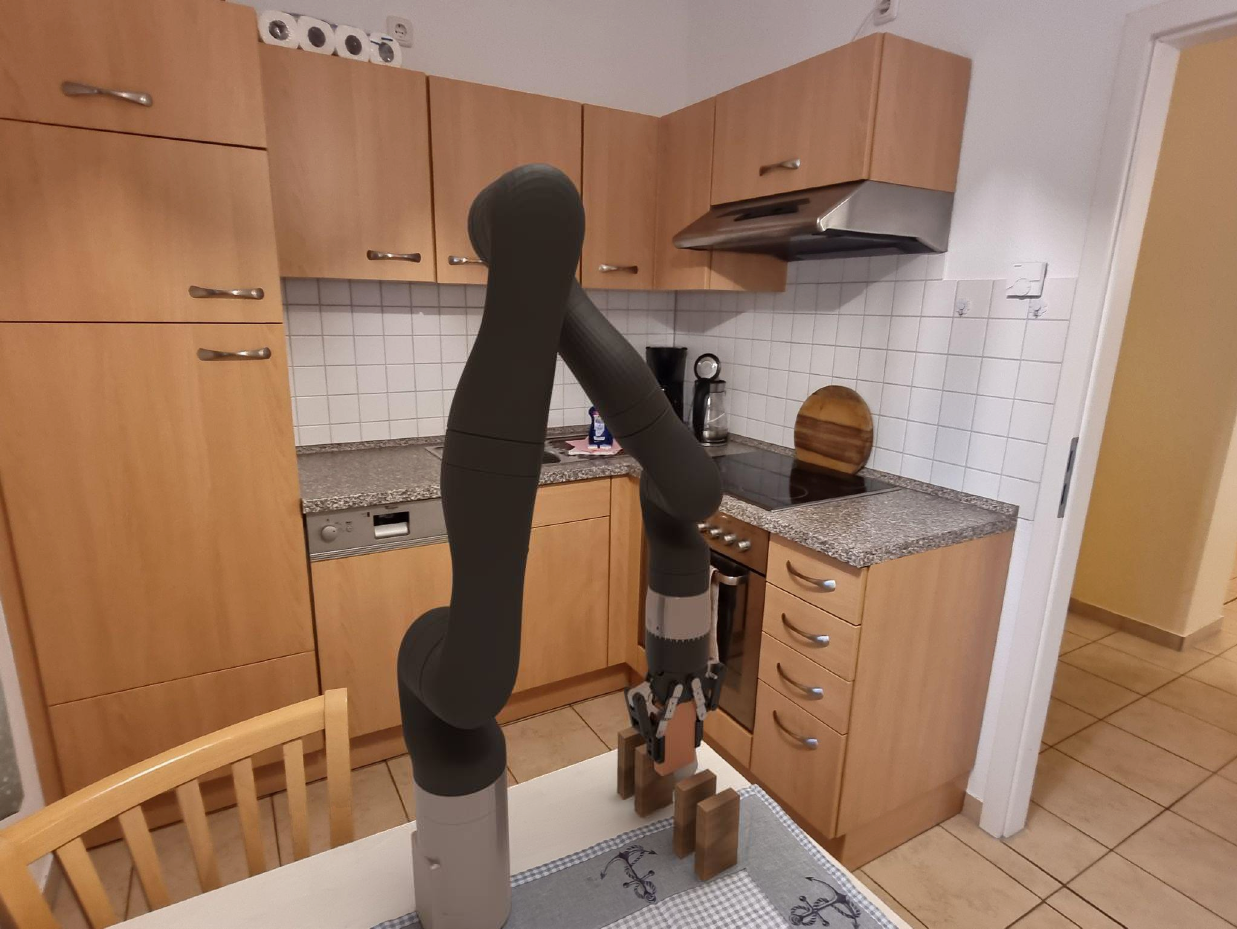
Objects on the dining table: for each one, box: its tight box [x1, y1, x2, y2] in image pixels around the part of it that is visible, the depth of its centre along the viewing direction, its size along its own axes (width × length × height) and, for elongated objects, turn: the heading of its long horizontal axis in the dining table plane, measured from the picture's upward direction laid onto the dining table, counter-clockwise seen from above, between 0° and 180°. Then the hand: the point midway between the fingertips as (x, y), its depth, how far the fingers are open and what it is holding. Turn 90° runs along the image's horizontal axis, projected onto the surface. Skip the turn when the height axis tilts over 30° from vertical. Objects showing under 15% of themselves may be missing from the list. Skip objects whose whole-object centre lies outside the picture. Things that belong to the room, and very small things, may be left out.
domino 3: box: [654, 698, 696, 776], centre depth 83 cm, size 5×2×9 cm, turn 124°
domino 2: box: [633, 743, 674, 819], centre depth 88 cm, size 5×2×9 cm, turn 123°
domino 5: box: [694, 786, 741, 883], centre depth 78 cm, size 5×2×9 cm, turn 123°
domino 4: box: [672, 768, 718, 860], centre depth 81 cm, size 5×2×9 cm, turn 123°
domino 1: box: [616, 726, 647, 801], centre depth 91 cm, size 5×2×9 cm, turn 123°
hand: (675, 751), depth 84 cm, fingers closed on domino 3, 5 cm apart
